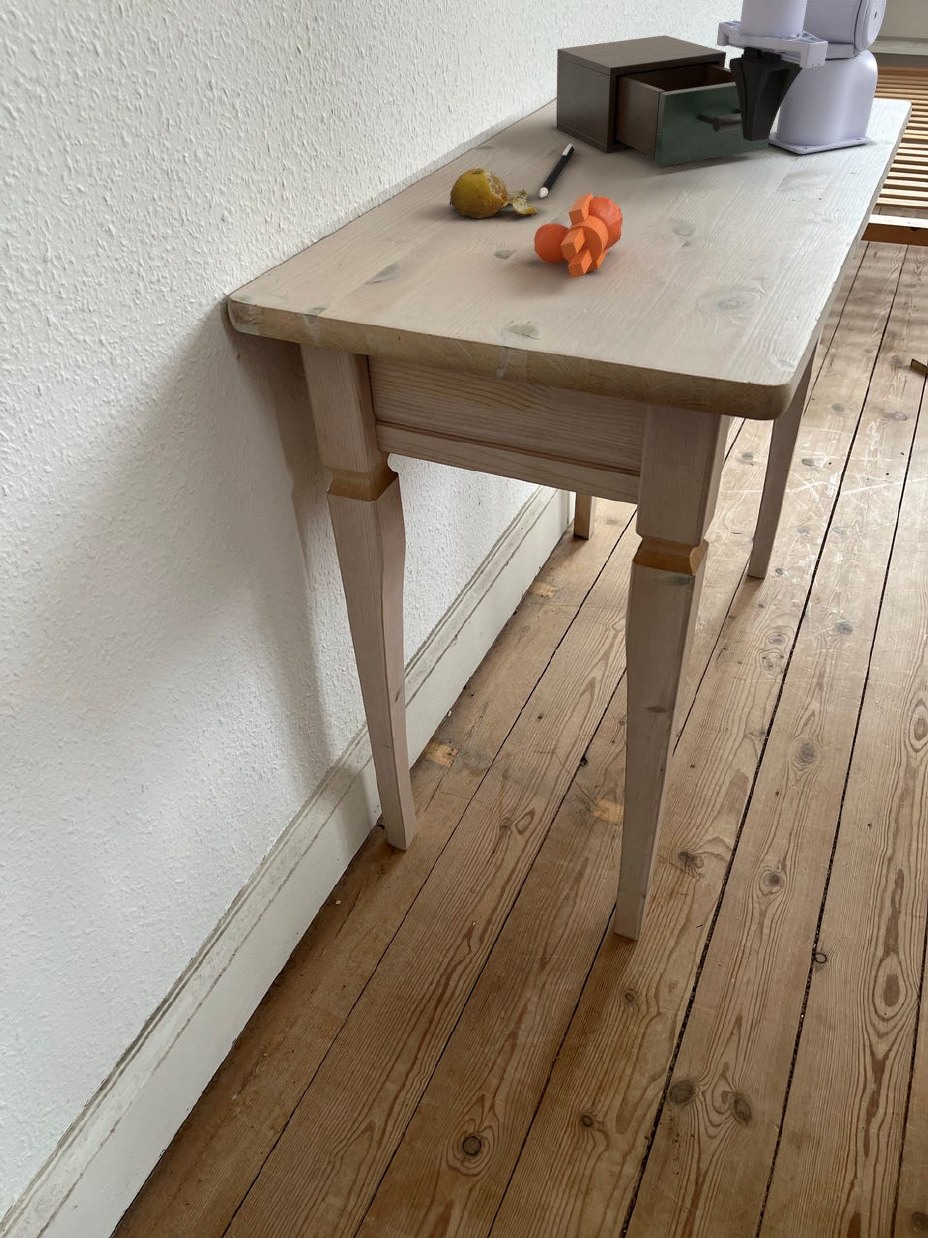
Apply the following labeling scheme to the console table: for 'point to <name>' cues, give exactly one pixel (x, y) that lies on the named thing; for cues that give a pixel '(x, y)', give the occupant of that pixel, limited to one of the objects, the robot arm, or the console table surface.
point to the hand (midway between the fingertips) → (755, 138)
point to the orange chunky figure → (581, 235)
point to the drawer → (681, 114)
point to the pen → (557, 170)
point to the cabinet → (613, 81)
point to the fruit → (486, 195)
